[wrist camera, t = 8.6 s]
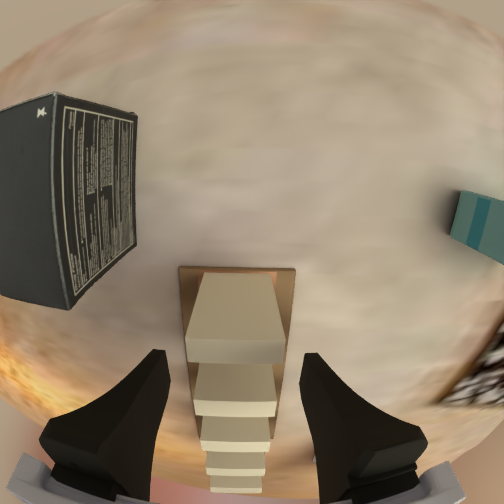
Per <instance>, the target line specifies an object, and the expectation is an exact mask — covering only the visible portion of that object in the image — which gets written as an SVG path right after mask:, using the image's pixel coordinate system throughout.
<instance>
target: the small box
mask: <svg viewBox="0 0 504 504" xmlns="http://www.w3.org/2000/svg"><path fill="white" fill-rule="evenodd" d="M137 119H138V116H137V115H136V114H135V113H134V112H130V113H128V112H125V111H121V110H118V109H115V108H112V107H108V106H105V105H101V104H97V103H93V102H89V101H86V100H82V99H77V98H73V97H69V96H65V95H63V94H61V93H58V92H51V93H48V94H46V95H42V96H39V97H36V98H33V99H30V100H27V101H24V102H21V103H19V104H16V105H13V106H10V107H7V108H5V109H2V110H0V294H1V295H2V296H5V297H8V298H11V299H15V300H20V301H24V302H27V303H33V304H37V305H42V306H47V307H51V308H57V309H62V310H67V311H69V310H70V309H72V307H73V306H74V305H75V304H76V303H77V301H78V300H79V299H80V298H81V297H82V296H83V295H84V294H85V292H86V291H87V290H88V289H89V288H90V287H91V286H93V284H94V283H95V282H97V281H98V279H100V278H101V277H102V276H103V275H104V274H105V273H106V272H107V271H108V270H109V269H110V268H111V267H112V266H114V265H115V264H116V263H117V262H118V261H119V260H120V259H122V258H123V257H124V256H125V255H126V254H127V253H128V252H129V251H131V250H132V249H133V248H134V247H136V246H137V242H136V216H135V160H136V137H137Z"/></svg>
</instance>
